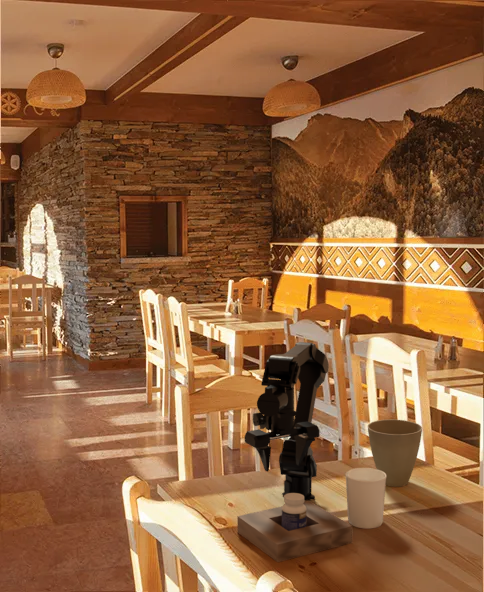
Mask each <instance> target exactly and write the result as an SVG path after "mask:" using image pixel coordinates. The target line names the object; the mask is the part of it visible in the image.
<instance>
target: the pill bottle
mask: <svg viewBox="0 0 484 592" xmlns="http://www.w3.org/2000/svg"><path fill="white" fill-rule="evenodd" d="M304 501H305V500H304V496H303V495H302V494H299V493H288V494H285V495H284V496H283V502H284V504H283V505H282V527H283V528H285V529H286V530H288V531H291V530H295V529H299V528H303V527H306V506H305V505H304V504H303V503H304Z"/></svg>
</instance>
